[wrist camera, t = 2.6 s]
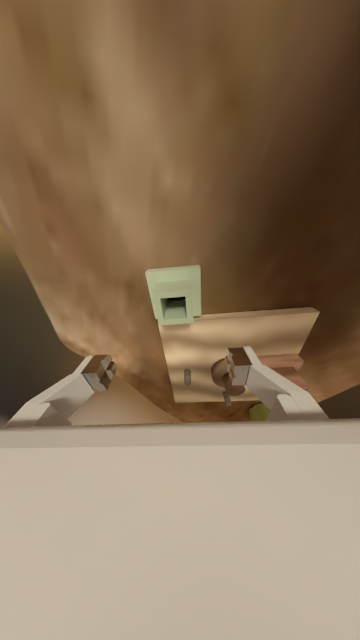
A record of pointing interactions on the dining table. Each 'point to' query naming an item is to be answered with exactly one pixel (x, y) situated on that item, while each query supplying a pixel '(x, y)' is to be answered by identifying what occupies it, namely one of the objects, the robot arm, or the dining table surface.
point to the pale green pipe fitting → (175, 293)
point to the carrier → (233, 331)
